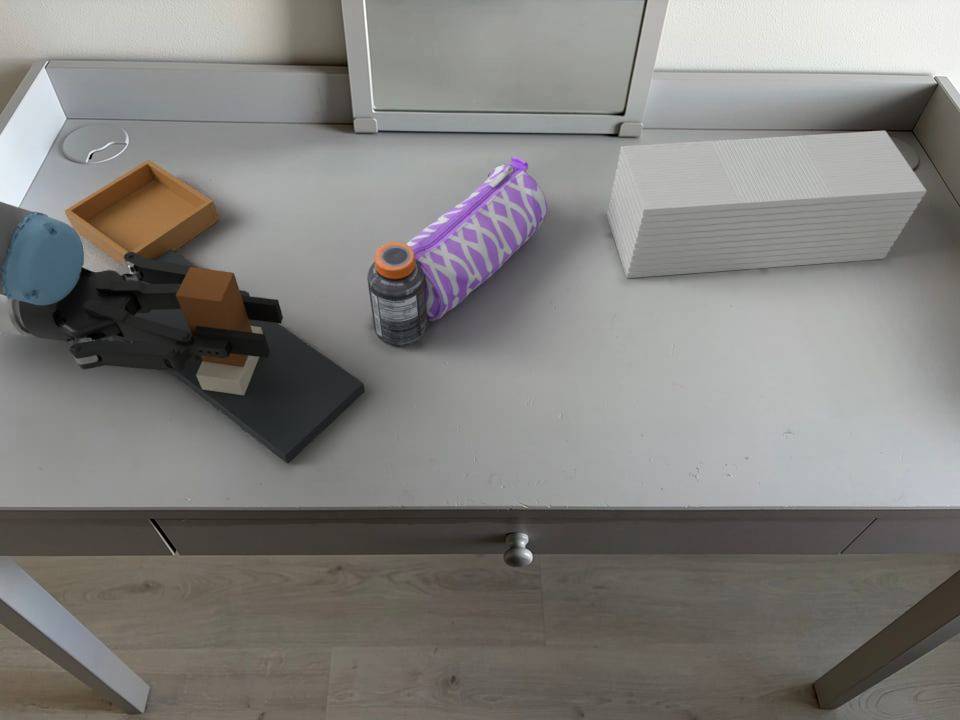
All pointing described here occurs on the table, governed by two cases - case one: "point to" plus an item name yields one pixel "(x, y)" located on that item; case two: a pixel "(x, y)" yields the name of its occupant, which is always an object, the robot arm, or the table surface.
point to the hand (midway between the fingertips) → (272, 328)
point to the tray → (142, 214)
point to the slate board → (274, 385)
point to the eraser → (218, 326)
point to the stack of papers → (759, 202)
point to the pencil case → (478, 235)
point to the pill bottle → (397, 295)
